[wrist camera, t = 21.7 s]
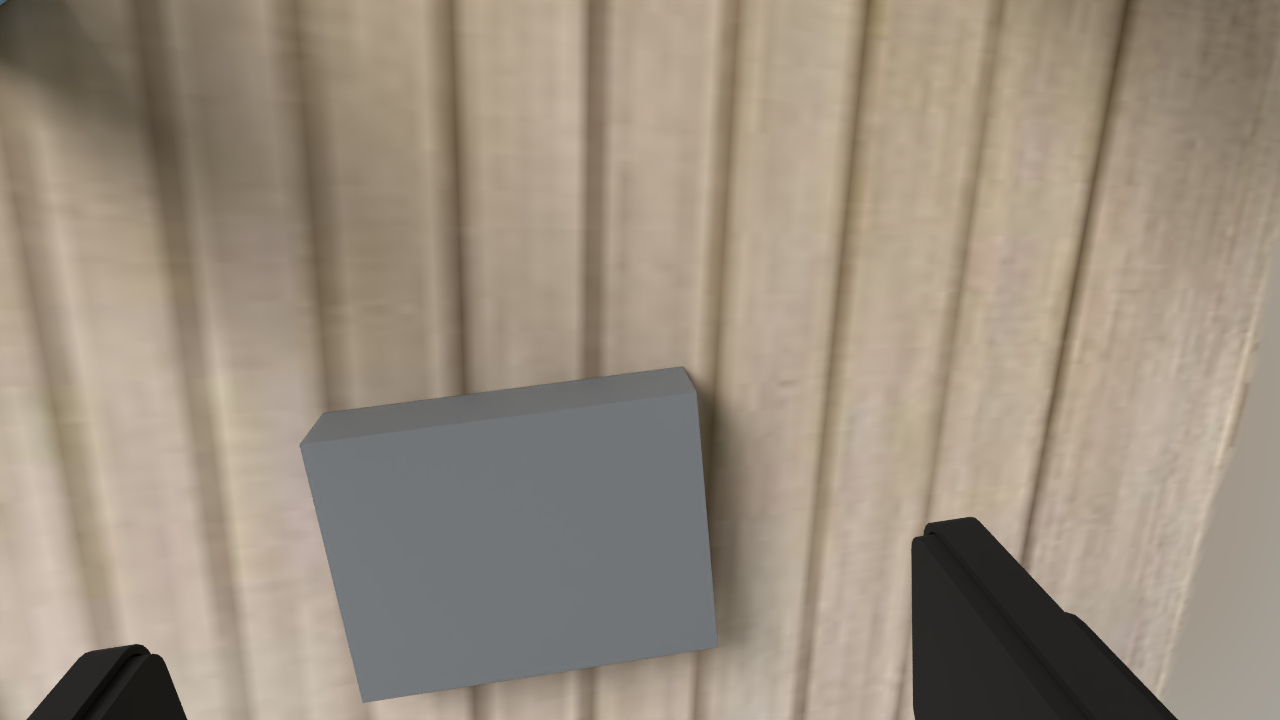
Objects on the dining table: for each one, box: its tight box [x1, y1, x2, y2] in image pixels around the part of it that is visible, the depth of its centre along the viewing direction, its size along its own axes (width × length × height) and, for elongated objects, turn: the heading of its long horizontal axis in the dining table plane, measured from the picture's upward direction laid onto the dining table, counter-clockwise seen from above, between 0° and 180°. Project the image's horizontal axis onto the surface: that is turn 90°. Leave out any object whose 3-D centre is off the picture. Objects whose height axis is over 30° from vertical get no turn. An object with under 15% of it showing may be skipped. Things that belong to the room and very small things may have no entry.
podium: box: [300, 367, 718, 703], centre depth 41 cm, size 18×14×4 cm
